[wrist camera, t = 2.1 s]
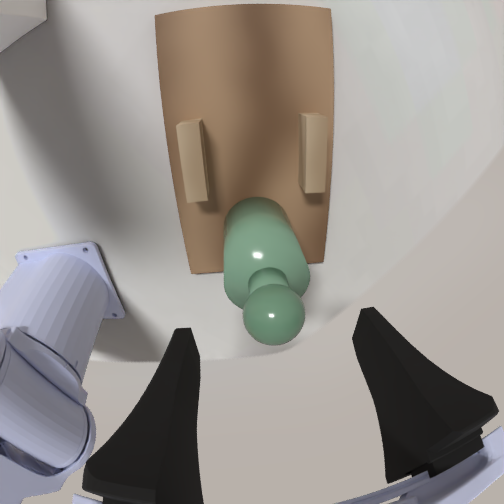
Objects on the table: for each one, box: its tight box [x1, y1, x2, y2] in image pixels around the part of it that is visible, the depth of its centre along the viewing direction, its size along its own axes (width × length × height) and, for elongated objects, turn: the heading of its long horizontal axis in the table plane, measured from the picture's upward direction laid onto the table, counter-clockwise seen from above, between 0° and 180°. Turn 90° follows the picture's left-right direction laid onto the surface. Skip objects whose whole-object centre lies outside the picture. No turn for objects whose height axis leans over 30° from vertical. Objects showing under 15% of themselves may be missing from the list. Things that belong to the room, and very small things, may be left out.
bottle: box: [223, 197, 310, 345], centre depth 15 cm, size 4×4×9 cm
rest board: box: [155, 4, 334, 274], centre depth 16 cm, size 10×18×2 cm, turn 3°
